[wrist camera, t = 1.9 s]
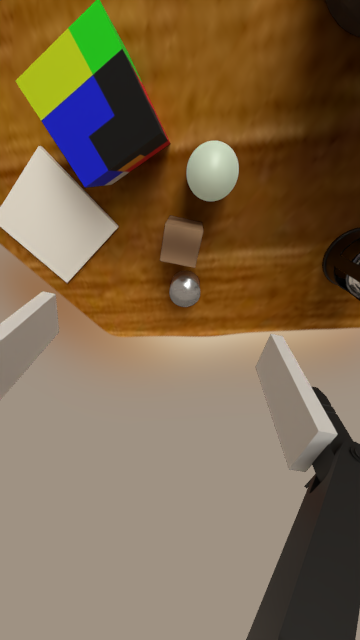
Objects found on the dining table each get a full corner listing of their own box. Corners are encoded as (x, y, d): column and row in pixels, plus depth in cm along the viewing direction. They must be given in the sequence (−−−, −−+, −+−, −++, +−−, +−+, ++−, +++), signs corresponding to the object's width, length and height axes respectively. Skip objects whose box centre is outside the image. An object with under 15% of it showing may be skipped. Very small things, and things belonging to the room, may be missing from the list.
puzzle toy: (111, 184, 35) (84, 187, 27) (64, 106, 31) (15, 80, 23) (170, 143, 33) (161, 132, 24) (127, 51, 28) (98, -3, 20)
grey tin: (174, 267, 41) (172, 275, 38) (202, 273, 42) (203, 282, 38) (169, 293, 44) (167, 303, 40) (196, 299, 44) (196, 309, 41)
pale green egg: (192, 142, 32) (192, 134, 26) (236, 152, 33) (245, 147, 27) (184, 192, 35) (182, 195, 29) (224, 200, 36) (230, 206, 30)
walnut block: (170, 215, 37) (165, 223, 31) (202, 222, 37) (203, 231, 31) (165, 247, 40) (159, 260, 34) (195, 253, 40) (195, 267, 34)
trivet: (-4, 219, 39) (-8, 219, 38) (42, 146, 33) (38, 145, 33) (69, 281, 44) (67, 282, 43) (119, 226, 38) (117, 227, 38)
